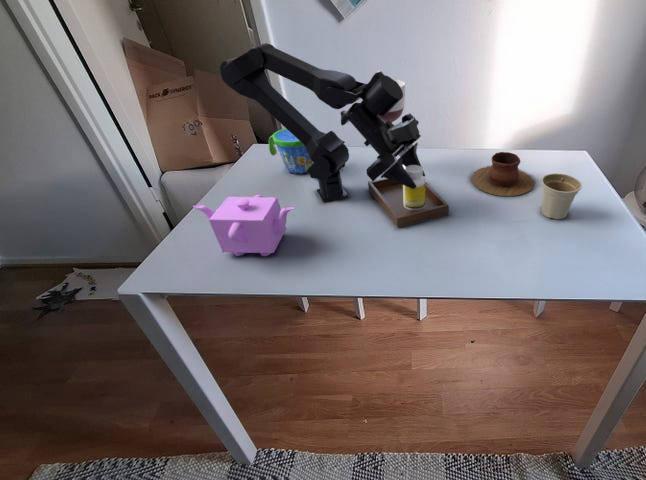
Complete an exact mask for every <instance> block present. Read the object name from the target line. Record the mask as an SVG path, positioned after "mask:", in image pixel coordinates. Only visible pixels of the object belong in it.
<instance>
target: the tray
mask: <svg viewBox="0 0 646 480" xmlns="http://www.w3.org/2000/svg"><path fill="white" fill-rule="evenodd" d="M367 186H368V187H367V188H368V191H369V193H370V194H371V195H372V197H373V198H374V200H375V201H376V202H377V203H378V205H379V206H380V207H381V208H382V209H383V210H384V212H385V213H386V215H387V216H388V217H389V218H390V220H391V221H392V223H393V224H394V225H395V226H396V228H397V229H399V228H402V227H406V226H410V225H414V224H418V223H421V222H425V221H429V220H432V219H436V218H440V217H444V216H446V215H449V214H450V213H449V212H450V205H449V204H448V203H447V202H446V201H445V200H444V199H443V198H442V197H441V196H440V195H439V194H438V193H437V192H436V191H435V190H434V188H432V187H431V186H430V185H429V184H428V183H427V182H426V190H425V207H424V208H423V209H421V210H417V211H412V210H408V209H406V208H405V207H404V205H403V185H402V184H400V183H398V182H396V181H393V180H390V179H387V178H385V177H383V178H379V179H375V180H374V181H372V180H370V181H367Z"/></svg>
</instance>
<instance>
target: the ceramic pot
mask: <svg viewBox="0 0 646 480" xmlns="http://www.w3.org/2000/svg"><path fill="white" fill-rule="evenodd" d="M520 164H521V158H520V156H518V155H517V154H516V153H513V152H508V151H499V152H495V153H494V154H493V155H492V156H491V165H490V166H485V167H481V168H478V169H477V170H476V171H474V172H473V174H472V175H471V178H470V181H471V183H472V184H473V185H474V186H475V187H476V188H477V189H478V190H481V191H482V192H484V193H487V194H490V195H495V196H499V197H513V196H520V195H523V194H527V193H528V192H531V191H532V190H533V188H534V183H535V182H534V179H533V178H532V177H531V175H529V174H527V173H526V172H524V171H522V170H520V169H519V165H520Z"/></svg>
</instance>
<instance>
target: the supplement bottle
mask: <svg viewBox="0 0 646 480" xmlns="http://www.w3.org/2000/svg"><path fill="white" fill-rule="evenodd" d="M421 166H422V165H421ZM421 166H418V165H409V166H407V167H406V169H405V171H406V172H407V173H408V175H409V176H410V177H411V179H412V180H413V181H414V183H415V185H416V188H414V189H411V188H409V187H407V186H405V185H403V205H404V207H405V208H406V209H408V210H412V211H417V210H421V209H423V208H424V207H425V190H426V183H427V182H426V180H427V179H426V178H425V177H426V176H425V177H424V176H423V171H424V169H423V167H421Z"/></svg>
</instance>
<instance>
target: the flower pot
mask: <svg viewBox="0 0 646 480" xmlns="http://www.w3.org/2000/svg"><path fill="white" fill-rule="evenodd" d="M541 184H542V199H541V200H542V201H541V214H542V215H543V216H544V217H546V218H548V219H553V220H563V219H564V218H566V217H567V215H568V213H569V210H570V208H571V206H572V204H573V202H574V200H575V197H576V195H577V194H578V192H579V191H581V189H583V188H582V187H583V184H582V182H581V181H580V180H579V179H578V178H577V177H574V176H572V175H569V174H565V173H558V172H557V173H556V172H555V173H548V174H546V175H543V176H542V178H541Z"/></svg>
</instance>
